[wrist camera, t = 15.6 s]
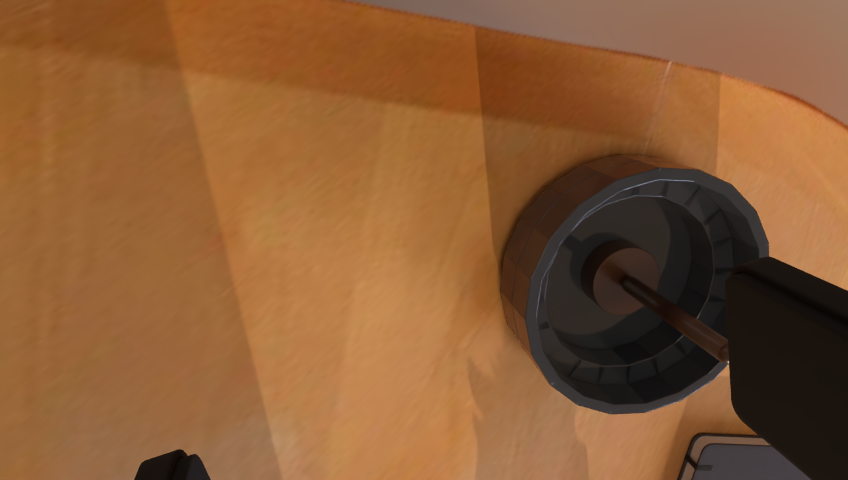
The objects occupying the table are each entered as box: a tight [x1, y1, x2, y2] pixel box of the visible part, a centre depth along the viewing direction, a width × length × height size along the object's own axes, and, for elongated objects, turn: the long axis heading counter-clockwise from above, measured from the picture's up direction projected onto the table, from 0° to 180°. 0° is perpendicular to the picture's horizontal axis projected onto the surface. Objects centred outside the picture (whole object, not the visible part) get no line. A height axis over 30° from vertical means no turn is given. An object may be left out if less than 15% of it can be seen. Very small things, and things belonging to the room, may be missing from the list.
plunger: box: [581, 240, 729, 364], centre depth 37 cm, size 5×5×13 cm
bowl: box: [500, 155, 769, 414], centre depth 41 cm, size 18×18×6 cm
